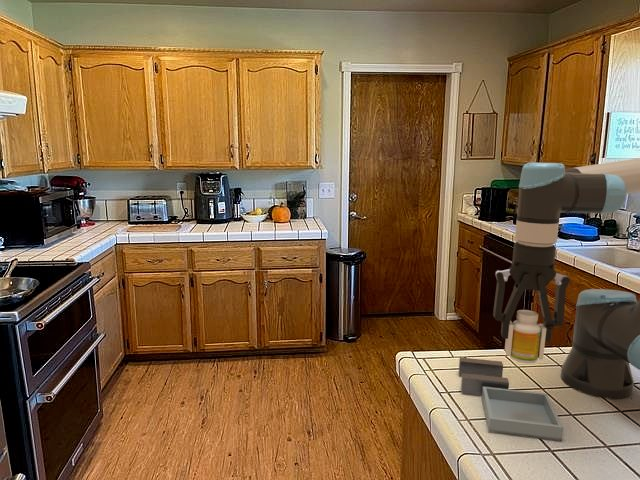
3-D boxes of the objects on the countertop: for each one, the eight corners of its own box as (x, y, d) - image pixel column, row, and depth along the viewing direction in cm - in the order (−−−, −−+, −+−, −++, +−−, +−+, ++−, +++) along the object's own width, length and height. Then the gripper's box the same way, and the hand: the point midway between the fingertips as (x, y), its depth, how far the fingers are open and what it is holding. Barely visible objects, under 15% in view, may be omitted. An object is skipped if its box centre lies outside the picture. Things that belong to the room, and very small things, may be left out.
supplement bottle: (540, 365, 95) (545, 318, 93) (511, 362, 96) (516, 316, 94) (534, 354, 100) (538, 309, 98) (506, 351, 101) (511, 307, 99)
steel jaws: (500, 376, 119) (501, 361, 118) (507, 399, 108) (509, 382, 107) (458, 372, 121) (459, 357, 120) (461, 394, 110) (462, 377, 109)
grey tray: (545, 406, 105) (547, 393, 105) (561, 441, 92) (563, 427, 92) (481, 398, 108) (482, 386, 108) (488, 432, 95) (489, 418, 95)
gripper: (580, 242, 95) (567, 352, 99) (483, 236, 99) (474, 343, 103) (593, 249, 88) (578, 368, 92) (487, 243, 92) (477, 357, 96)
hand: (523, 354), depth 98 cm, fingers closed on supplement bottle, 5 cm apart
